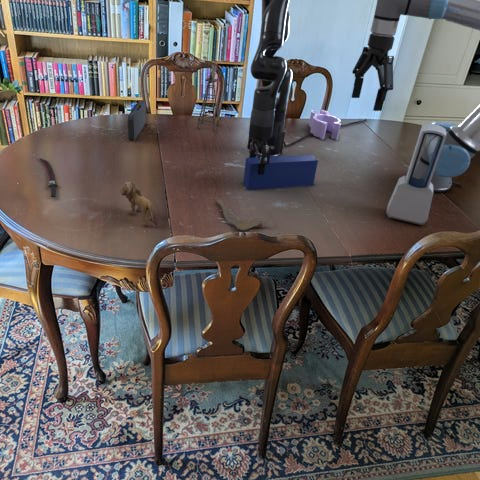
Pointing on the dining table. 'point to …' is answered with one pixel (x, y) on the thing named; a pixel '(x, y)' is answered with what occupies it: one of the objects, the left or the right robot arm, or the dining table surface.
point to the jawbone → (237, 221)
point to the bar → (281, 172)
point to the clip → (324, 124)
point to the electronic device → (416, 183)
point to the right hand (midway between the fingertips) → (365, 103)
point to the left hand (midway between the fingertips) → (256, 168)
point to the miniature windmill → (210, 80)
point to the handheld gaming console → (136, 120)
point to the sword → (52, 181)
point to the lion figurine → (137, 201)
